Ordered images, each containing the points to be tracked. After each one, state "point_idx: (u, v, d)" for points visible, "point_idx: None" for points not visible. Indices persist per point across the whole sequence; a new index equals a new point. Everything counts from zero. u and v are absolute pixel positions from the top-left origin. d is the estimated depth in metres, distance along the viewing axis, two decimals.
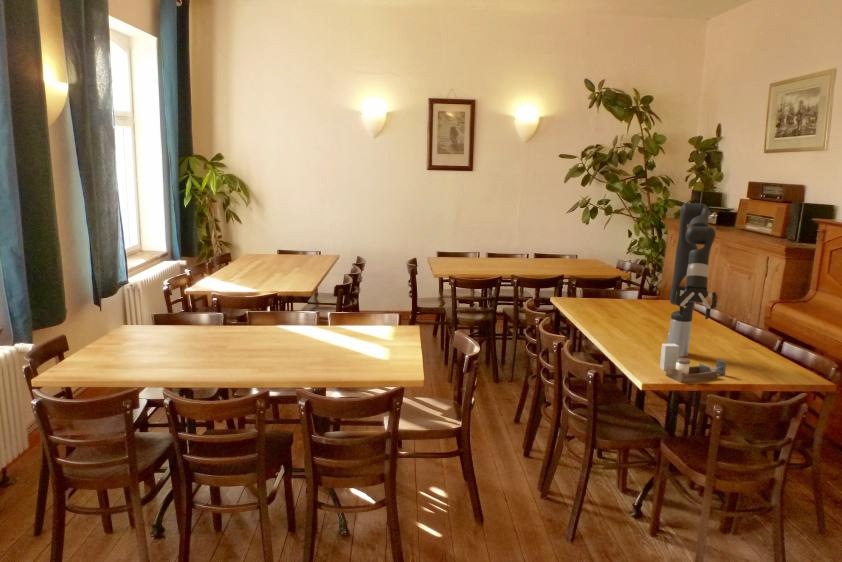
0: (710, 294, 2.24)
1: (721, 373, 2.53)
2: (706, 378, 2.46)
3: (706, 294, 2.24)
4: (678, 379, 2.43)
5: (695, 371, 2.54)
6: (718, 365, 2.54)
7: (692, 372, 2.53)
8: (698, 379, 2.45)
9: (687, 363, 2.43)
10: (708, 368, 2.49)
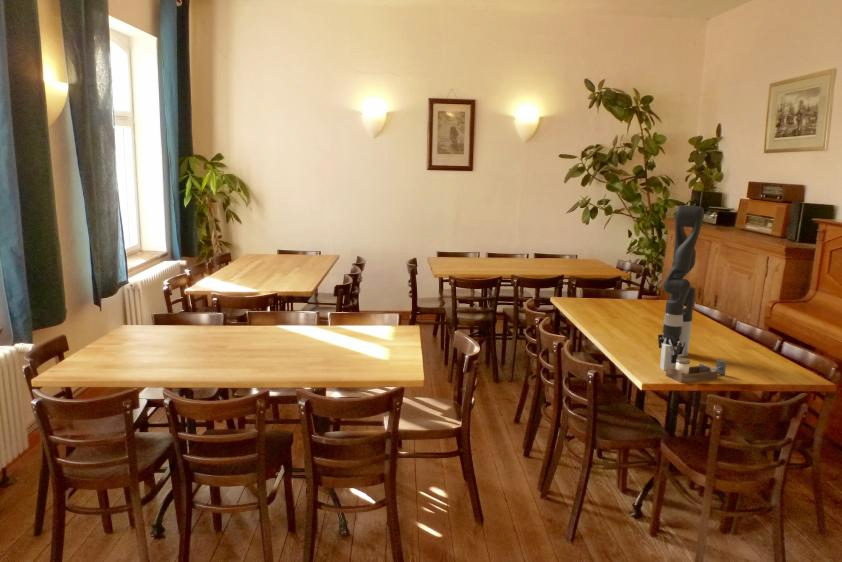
0: (678, 342, 2.51)
1: (721, 373, 2.53)
2: (706, 378, 2.46)
3: (675, 341, 2.52)
4: (678, 379, 2.43)
5: (695, 371, 2.54)
6: (718, 365, 2.54)
7: (692, 372, 2.53)
8: (698, 379, 2.45)
9: (687, 363, 2.43)
10: (708, 368, 2.49)
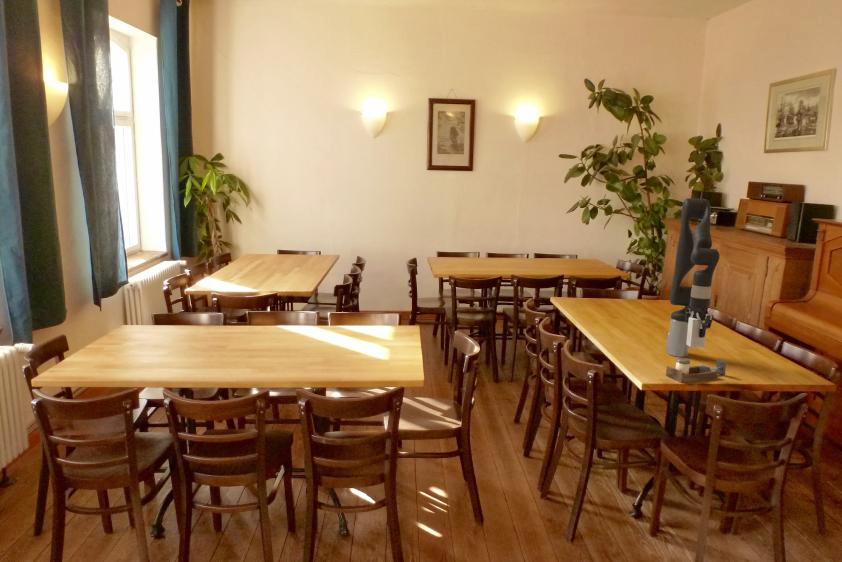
0: (706, 315, 2.40)
1: (721, 373, 2.53)
2: (706, 378, 2.46)
3: (703, 314, 2.42)
4: (678, 379, 2.43)
5: (695, 371, 2.54)
6: (718, 365, 2.54)
7: (692, 372, 2.53)
8: (698, 379, 2.45)
9: (687, 363, 2.43)
10: (708, 368, 2.49)
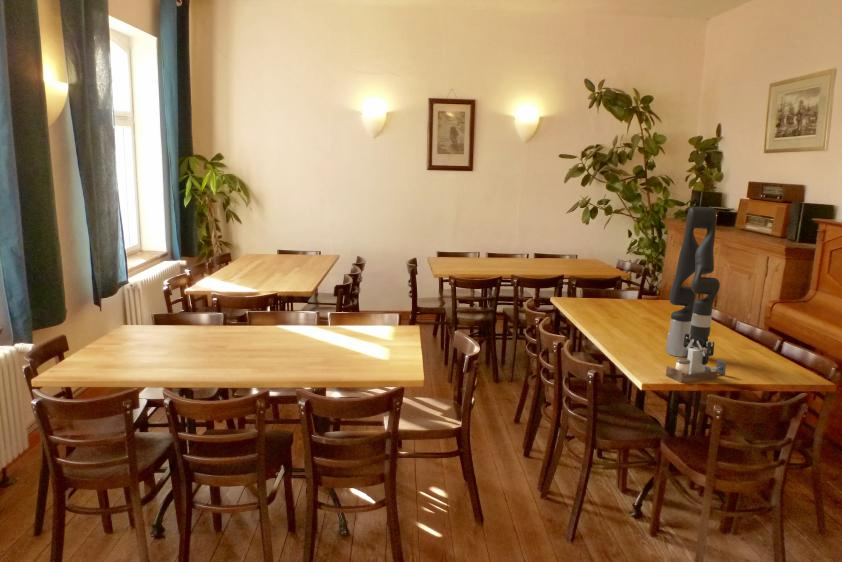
0: (707, 343, 2.42)
1: (721, 373, 2.53)
2: (706, 378, 2.46)
3: (703, 342, 2.43)
4: (678, 379, 2.43)
5: None
6: (718, 365, 2.54)
7: None
8: (698, 379, 2.45)
9: (687, 363, 2.43)
10: (708, 368, 2.49)
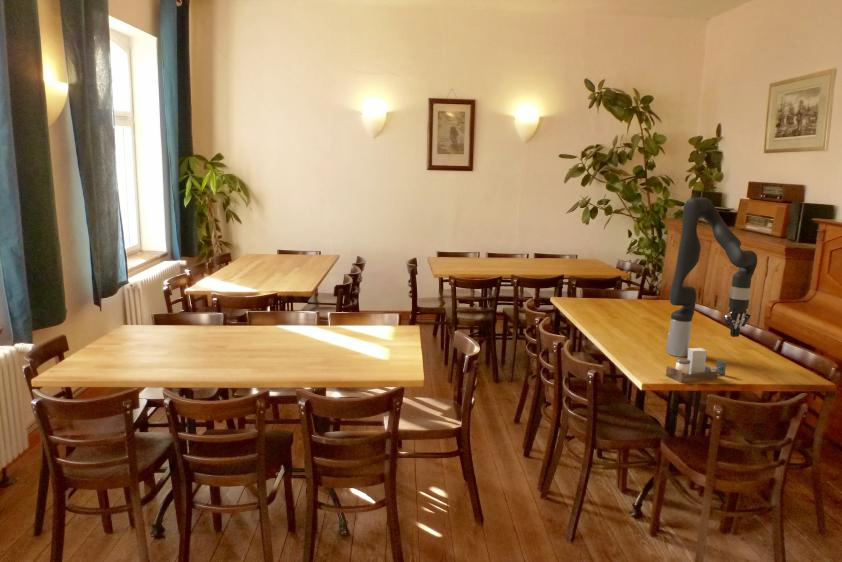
0: (746, 314, 2.52)
1: (721, 373, 2.53)
2: (706, 378, 2.46)
3: (745, 313, 2.51)
4: (678, 379, 2.43)
5: None
6: (718, 365, 2.54)
7: None
8: (698, 379, 2.45)
9: (687, 363, 2.43)
10: (708, 368, 2.49)
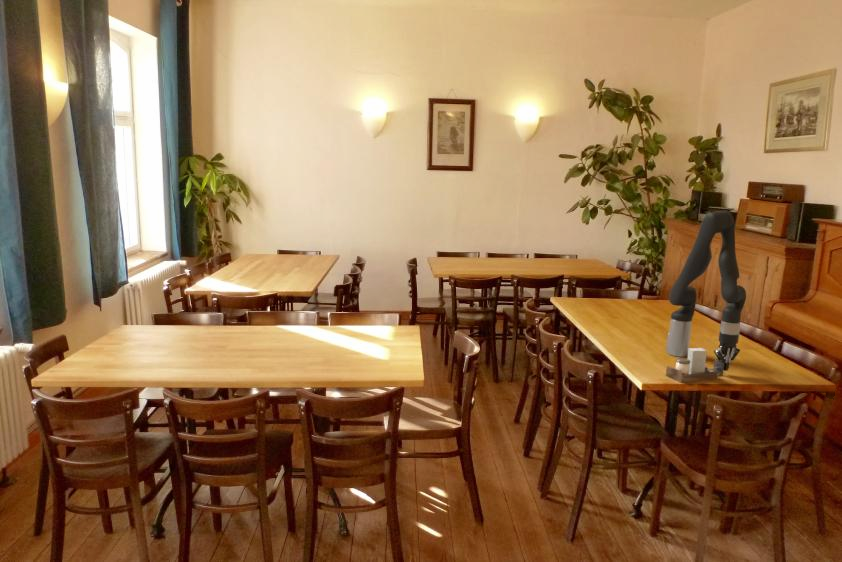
0: (735, 348, 2.54)
1: (719, 373, 2.53)
2: (706, 378, 2.46)
3: (735, 347, 2.53)
4: (678, 379, 2.43)
5: None
6: (716, 365, 2.54)
7: None
8: (698, 379, 2.45)
9: (687, 363, 2.43)
10: (706, 368, 2.48)
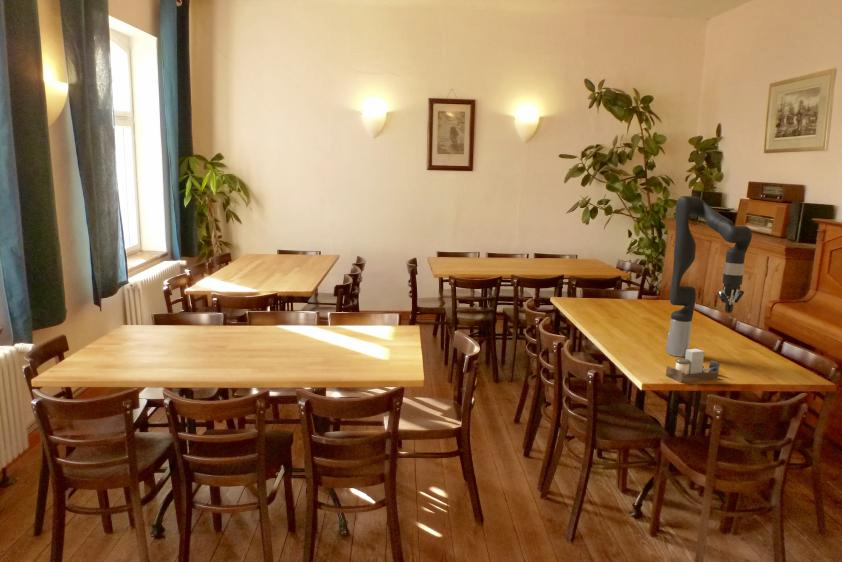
0: (739, 290, 2.53)
1: None
2: (706, 378, 2.46)
3: (739, 289, 2.52)
4: (678, 379, 2.43)
5: None
6: (711, 366, 2.53)
7: None
8: (698, 379, 2.45)
9: (686, 363, 2.43)
10: None
